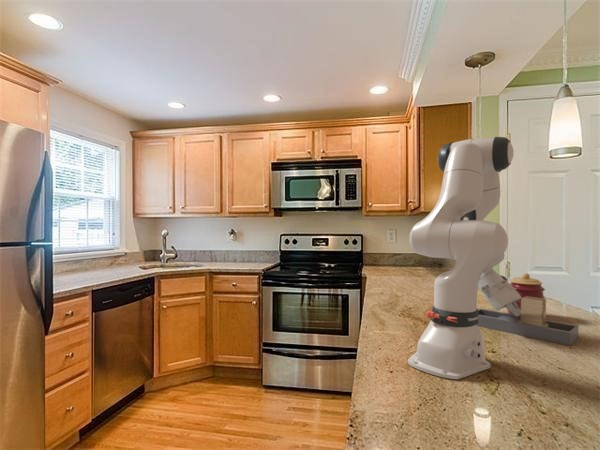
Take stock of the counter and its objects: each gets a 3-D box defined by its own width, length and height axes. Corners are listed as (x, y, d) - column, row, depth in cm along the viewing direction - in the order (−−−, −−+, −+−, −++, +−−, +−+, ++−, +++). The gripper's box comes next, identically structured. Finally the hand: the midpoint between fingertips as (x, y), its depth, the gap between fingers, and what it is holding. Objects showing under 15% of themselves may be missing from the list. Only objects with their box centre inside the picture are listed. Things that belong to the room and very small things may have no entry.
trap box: (570, 345, 110) (570, 332, 110) (467, 323, 133) (467, 313, 133) (578, 337, 118) (578, 325, 118) (479, 318, 141) (480, 308, 141)
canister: (533, 312, 151) (533, 271, 151) (552, 320, 138) (552, 275, 138) (501, 311, 152) (502, 270, 152) (517, 319, 139) (517, 275, 139)
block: (541, 328, 118) (541, 301, 118) (520, 324, 122) (520, 298, 122) (545, 324, 122) (546, 298, 122) (526, 321, 126) (526, 296, 126)
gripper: (486, 281, 124) (517, 315, 117) (506, 276, 137) (535, 305, 130) (473, 292, 127) (502, 325, 120) (494, 286, 141) (522, 315, 134)
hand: (520, 315), depth 125 cm, fingers closed
